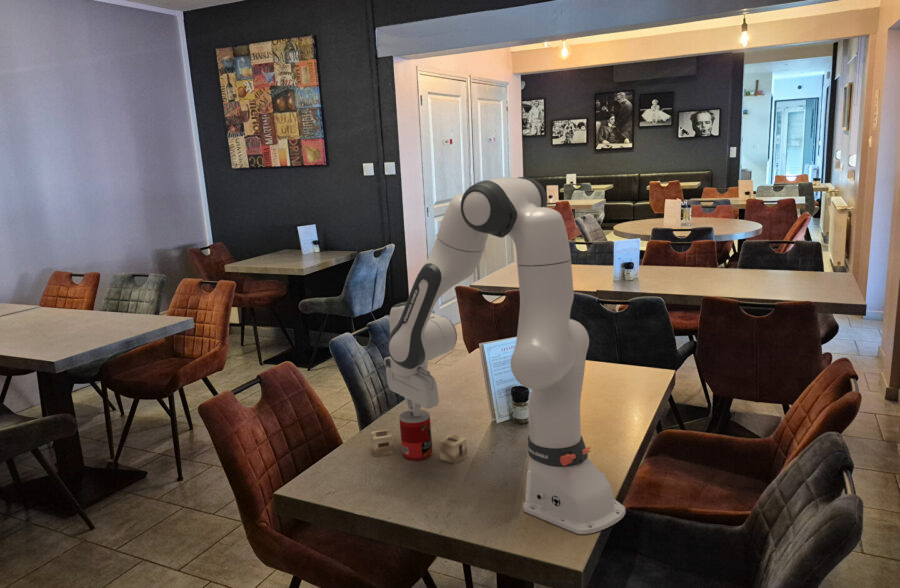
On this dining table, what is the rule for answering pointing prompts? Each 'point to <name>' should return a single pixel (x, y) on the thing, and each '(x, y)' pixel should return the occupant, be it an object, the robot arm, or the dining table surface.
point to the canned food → (416, 435)
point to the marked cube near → (453, 449)
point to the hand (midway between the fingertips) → (414, 414)
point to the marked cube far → (382, 442)
